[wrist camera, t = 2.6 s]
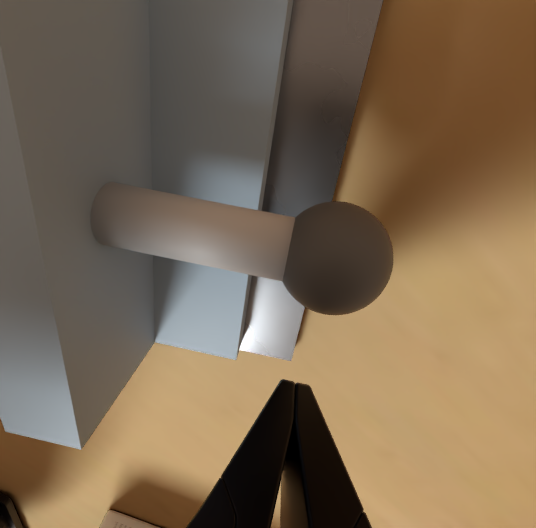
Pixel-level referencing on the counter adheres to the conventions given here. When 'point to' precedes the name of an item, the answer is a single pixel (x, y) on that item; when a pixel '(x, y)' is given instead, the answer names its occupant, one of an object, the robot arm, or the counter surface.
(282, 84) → the vise bed
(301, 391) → the robot arm
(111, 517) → the skincare box
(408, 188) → the counter surface
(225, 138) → the sliding jaw
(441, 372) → the counter surface
